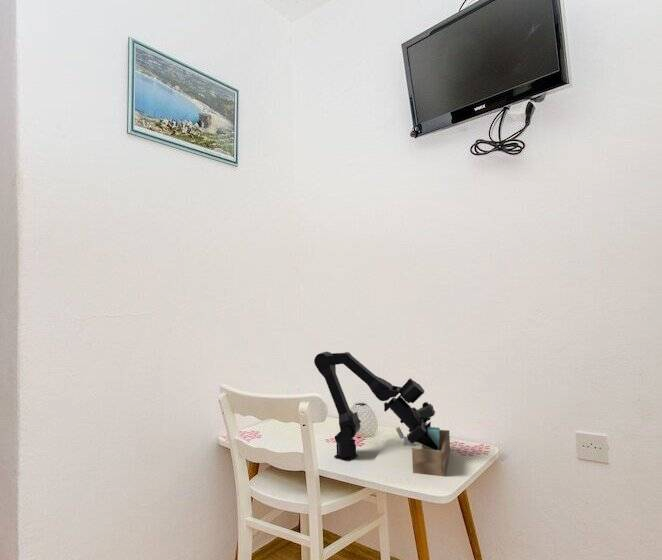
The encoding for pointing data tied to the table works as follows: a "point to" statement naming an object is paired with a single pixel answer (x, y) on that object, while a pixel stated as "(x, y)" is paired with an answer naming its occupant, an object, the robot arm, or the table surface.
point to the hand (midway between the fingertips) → (437, 446)
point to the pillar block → (434, 436)
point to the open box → (432, 457)
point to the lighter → (404, 437)
